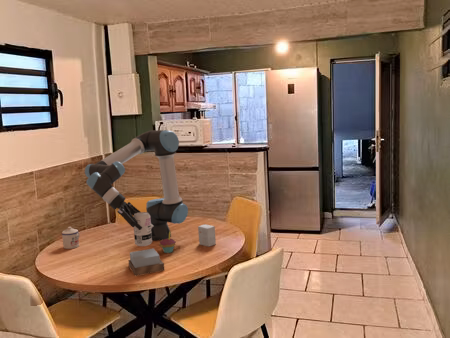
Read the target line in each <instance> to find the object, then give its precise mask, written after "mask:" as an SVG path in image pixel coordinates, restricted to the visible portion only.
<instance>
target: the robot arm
mask: <svg viewBox="0 0 450 338" xmlns="http://www.w3.org/2000/svg"><path fill="white" fill-rule="evenodd" d="M179 145H180V140H179V138H178V135H177V133H176V132H174V131H172V130H169V129H168V130H167V129H166V130H164V129H163V130H157V129H156V130H152V129H151V130H148V131H145V132H143V133H140V134H139V135H136V137H134V138H132V139H131V141H130V142H129V143H128V144H126V145H124V146H122V147H121V148H120V149H117V150H116V151H114V152H113V153H111V154H109V155H107V156H105V157H104V158H102V159H101V160H100V161H97V162H96V163H89V164H87V165H86V166H85V169H84V174H85V176H86V177H87V179H86V180H85V181H86V185H87V186H88V187H89V188H90V189H91V190H92V191H94V193H96V194H97V196H99V197H100V198H101V199H103V202H106V203H107V204H109V206H110V207H111V208H112V209H113V210H117V209H118V210H117V213H118V215H120V216H121V217H122V218H123V220H125V221H126V222H127V224H129V225H130V227H132V228H134V226H135V227H136V228H137V229H138V230H139V231H140V232H142V233H143V234H144V235H146V234H147V233H148V232H149V231H148V230H147V229H146V228H145V227H144V226H143V225H142V224H141V223H140V222H137V221H136V219H135V218H134V217H133V216H134V214H135V213H139V212H141V211H140V210H139V209H138V208H137V207H136V206H135V205H133V204H132V203H131V202H130V201H128V202H126V201H125V200H126V197H125V196H124V195H123V194H122V193H120V191H119V190H117V188H115V187H114V186H113V184H114V183H115V182H116V181H117V180H119V179H120V178H121V177H122V176H123V175H124V174H125V172H126V167H125V165H123V164H124V163H126V162H128V161H129V160H131V159H132V158H134V157H136V156H137V155H143V154H144V153H145V152H154V155H155V157H156V158H157V159H158V163H159V171H160V177H161V184H162V193H163V197H161V198H155V199H150V200H148V201H147V202H146V212H148V213H149V215H150V219H151V233H152V242H154V241H156V242H157V241H162V240H163V239H168V238H169V232H170V238H171V237H172V233H171V229H170V227H169V224H168V223H171V224H178V225H179V224H182V223H184V222H185V220H186V218H187V217H188V215H189V208H188V206H187V205H186V204H185V203H183V201H184V200H183V198H182V197H181V196H180V192H179V185H178V178H177V171H176V165H175V164H176V163H175V155H176V154H177V150H178V148H179Z"/></svg>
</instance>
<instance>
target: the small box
mask: <svg viewBox="0 0 450 338" xmlns="http://www.w3.org/2000/svg"><path fill="white" fill-rule="evenodd" d="M197 229H198V232H197V234H198V243H199V245H201V246H204V247H212V246H215V245H216V244H217V242H216V227H215V226H214V225H211V224H210V225H209V224H201V225H198V226H197Z"/></svg>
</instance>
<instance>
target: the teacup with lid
mask: <svg viewBox="0 0 450 338" xmlns="http://www.w3.org/2000/svg"><path fill="white" fill-rule="evenodd" d="M61 236H62V237H61V238H62V246H63V249H67V250H69V249H70V250H71V249H76V248H78V247H80V240H79V239H80V232H79V230H78V229H76V228H73V227H72V226H68V227H67V228H66V229H64V230H63V231H62V232H61Z"/></svg>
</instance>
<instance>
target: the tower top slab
mask: <svg viewBox="0 0 450 338" xmlns="http://www.w3.org/2000/svg"><path fill="white" fill-rule="evenodd" d="M129 260H130V261H131V262H132V264H133V266H134V267H135V268H138V267H144V266H149V265H154V264H160V260H161V258H160V254H159V253H158V252H157V251H156V249H155V248H154V247H153V248H148V249H143V250H135V251H131V252H129Z"/></svg>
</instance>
